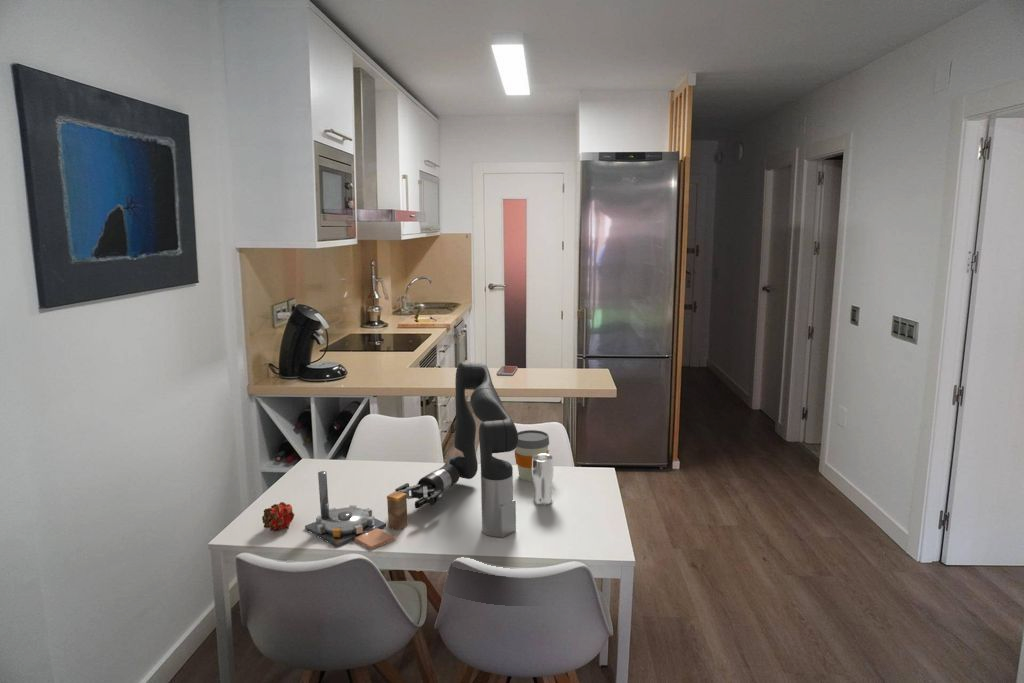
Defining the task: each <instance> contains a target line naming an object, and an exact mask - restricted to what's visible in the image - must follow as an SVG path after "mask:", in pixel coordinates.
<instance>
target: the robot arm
mask: <svg viewBox="0 0 1024 683" xmlns="http://www.w3.org/2000/svg"><path fill="white" fill-rule="evenodd" d="M454 384H455V432H454V444H453V445H454V446H453V447H454V448H455V449H456V450H458V451H460V452H461V453H462V454H463V456H462V455H452V456H450V457H449V458H448V459H447V461H446V462H445V463H444V465H443V466H442V467H440V468H438V469H436V470H433V471H432V472H430V473H428V474H426V475H424V476H423V477H421V478H420V479H419V480H418V481H417V483H416V485H412V486H410V483H408V482H407V483H404V484H402V485H400V486H399V487H396V488H395V489H394V490H395V491H397V492H402V493H407V497H406V498H407V500H410V499H411V500H413V499H416V500H415V502H414V508H415V509H416V510H417V509H419V508H421V507H423V506H427V505H428V504H429V505H430V506H434V505H435V504H436V503H438V502H439V501H441V500H442V499H443V497H442V496H443V494H444V493H445V492H446V491H447V490H448V489H450V488H451V487H453V486H454V485H456V484H457V483H458V481H459V479H460V478H461V479H466V480H471V479H473V478H474V477H475V476H476V475H477V473H478V470H479V469H478V467H479V465H478V458H477V453H476V447H475V446H476V445H475V444H476V433H477V424H476V420H475V418H474V416H475V417H476V418H477V419H478V420H479V421H481V423H480V424H479V426H478V427H479V428H478V442H479V454H480V458H479V459H480V461H479V462H480V487H481V488H480V494H481V497H480V498H481V503H480V504H481V530H482V532H483V533H484V534H485V535H487V536H488V537H489V536H490V537H495V538H496V537H497V538H502V539H503V538H505V537H506V536H509V535H510V534H512V533H515V532H516V531H517V515H516V513H517V508H516V506H517V505H516V500H515V499H514V489H513V488H514V484H513V483H514V482H513V481H514V480H513V479H514V476H513V473H514V470H513V468H514V467H513V464H511V463H510V461H507V460H504V459H501V458H500V459H499V458H497V457H496V456H493V454H499V453H509V452H514V451H515V449H516V447H517V445H518V433H517V432H518V430H517V427H516V425H515V422H514V421H513V419H512V418H511V417H510V415H509V414H508V412H507V411H506V409H505V408H504V405H503V402H502V400H501V397H500V396H499V394H498V392H497V390H496V387H495V386H494V384H493V380H492V376H491V374H490V370H489V368H488V366H487V365H486V364H484V363H477V362H465V361H462V362H459V363H458V365H457V367H456V371H455V383H454ZM466 390H473V391H472V392H471V396H470V400H469V402H470V406H471V409H472V411H473V413H474V416H473V413H472V412H471V410H470V407H469V405H468V402H467V400H466ZM395 491H394V492H395ZM410 494H411V495H410Z"/></svg>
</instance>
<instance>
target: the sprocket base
mask: <svg viewBox="0 0 1024 683" xmlns="http://www.w3.org/2000/svg"><path fill="white" fill-rule="evenodd" d="M374 522H375V523H374V524H373V526H367V527H365V528H364V529H363V532H362V533H359V534H355V533H350V534H343V535H341V537H333V534H329V533H326V532H325V533H322V534H320V533H319V532H317V525H316V521H314V522H312V523H308V524H306V525H304V529H305V530H306V531H308V532H309V531H310V532H309V533H311V532H312V533H311V534H313V533H314V534H313V535H314V536H316V537H318V536H319V537H318V538H320V537H321V538H320V539H322V538H323V539H322V540H323V541H325V540H326V542H327V541H328V542H327V543H329V542H330V543H329V544H331V545H332V544H333V545H332V546H334V545H335V547H337V548H339V547H341V546H343V545H345V544H348V543H351V542H354V541H355V537H357V536H360V535H362V534H364V533H367V532H369V531H372V530H374V529H376V528H378V529H380V530H382V529H384V528H386V527H387V523H386V522H384V521H382V520H380V519H378V518H376V517H374ZM381 528H382V529H381Z"/></svg>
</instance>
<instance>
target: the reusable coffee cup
mask: <svg viewBox="0 0 1024 683" xmlns="http://www.w3.org/2000/svg"><path fill="white" fill-rule="evenodd" d="M517 433H518V445H517V447H516V449H514V450H513V452H514V458H515V465H517V471H518V477H519V478H520V480H523V481H528V482H533V478H532V457H533V456H534V455H537V454H548V455H549V452H550V451H549V444H550V437H549V434H548V432H545V431H542V430H536V429H535V430H532V429H528V430H520V431H517Z"/></svg>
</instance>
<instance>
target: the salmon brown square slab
mask: <svg viewBox="0 0 1024 683" xmlns="http://www.w3.org/2000/svg"><path fill="white" fill-rule="evenodd" d="M354 541H355V542H356V543H358V544H360V545H361V544H362V546H363V545H364V546H363V547H365V548H367V549H369V550H374V549H376V548H378V547H381V546H383V545H385V544H388V543H390V542H392V541H395V536H394V535H392V534H391V533H388V532H387V531H385V530H382V529H378V528H376V529H374V530H372V531H369V532H367V533H364V534H362V535H360V536H357V537H355V540H354Z"/></svg>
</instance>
